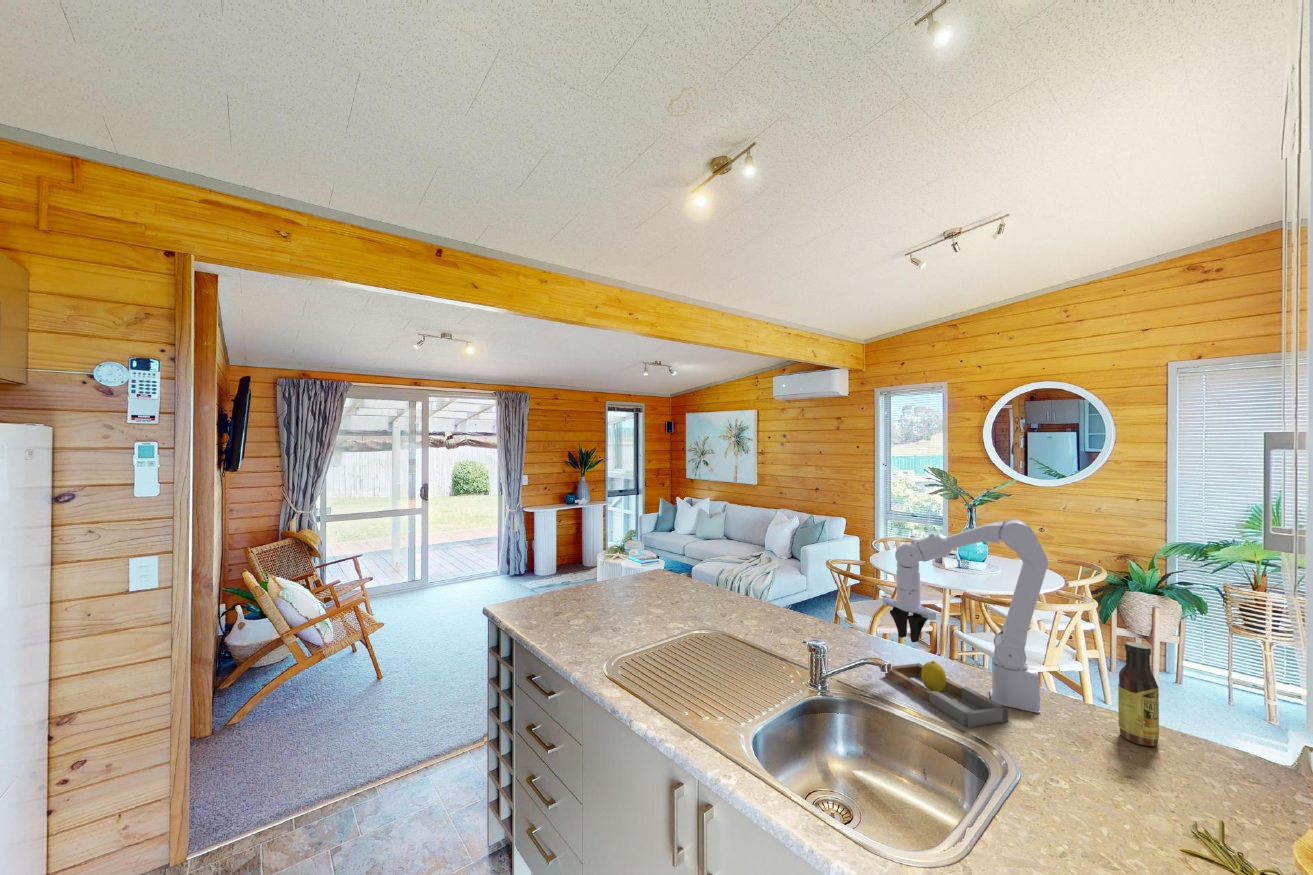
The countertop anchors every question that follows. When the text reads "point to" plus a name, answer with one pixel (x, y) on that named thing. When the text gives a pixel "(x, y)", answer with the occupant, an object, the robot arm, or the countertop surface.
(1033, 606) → the robot arm
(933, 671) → the lemon
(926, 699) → the slot rails
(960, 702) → the tray
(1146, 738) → the sauce bottle
